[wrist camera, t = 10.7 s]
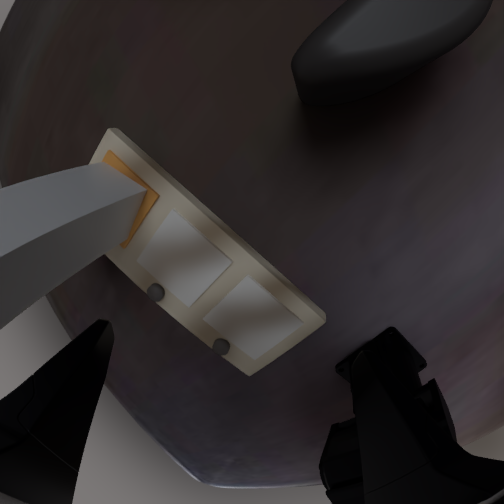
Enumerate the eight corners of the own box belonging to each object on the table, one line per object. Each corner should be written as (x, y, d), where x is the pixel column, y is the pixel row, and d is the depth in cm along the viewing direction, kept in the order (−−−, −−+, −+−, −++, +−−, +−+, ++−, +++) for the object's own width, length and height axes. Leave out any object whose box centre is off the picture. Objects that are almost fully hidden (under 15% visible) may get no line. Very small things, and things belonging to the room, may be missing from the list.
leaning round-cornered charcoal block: (345, 141, 17) (378, 143, 9) (292, 95, 17) (276, 57, 8) (466, 13, 11) (529, -28, 2) (421, -27, 11) (463, -87, 2)
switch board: (325, 313, 22) (326, 326, 21) (251, 367, 26) (248, 381, 24) (117, 127, 20) (103, 128, 18) (75, 210, 23) (62, 215, 22)
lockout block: (147, 189, 20) (-25, 271, 7) (127, 239, 21) (-13, 340, 9) (103, 161, 19) (-62, 213, 7) (88, 210, 21) (-53, 284, 9)
